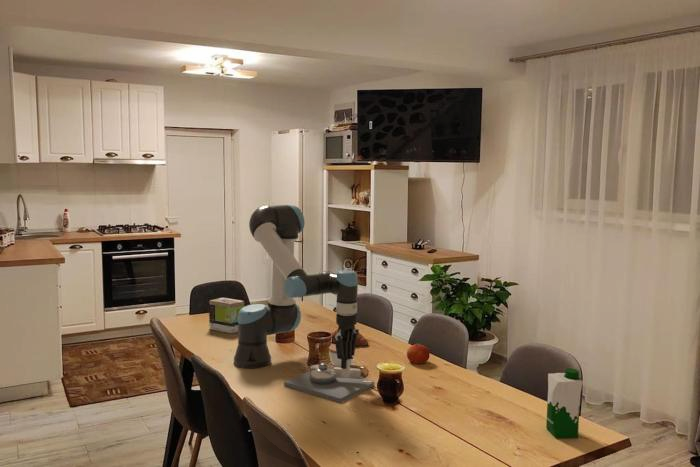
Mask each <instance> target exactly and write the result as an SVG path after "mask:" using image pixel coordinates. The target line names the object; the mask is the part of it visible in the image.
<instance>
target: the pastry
mask: <svg viewBox="0 0 700 467" xmlns="http://www.w3.org/2000/svg"><path fill="white" fill-rule="evenodd" d="M330 333H331V335H332V342H331V343H333V344H335V340H334V338H333V336H334V335H337V333H338V328H337V329H336V330H334V331H331V332H330ZM369 344H370V343H369V341H368V339H367V338H365V337H364V336H363V334H361V332H358V335H357V340H356V347H365V346H369Z"/></svg>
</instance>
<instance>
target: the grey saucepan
mask: <svg viewBox="0 0 700 467" xmlns="http://www.w3.org/2000/svg"><path fill="white" fill-rule="evenodd" d="M367 369H368V368H367V366H366V365H360V366H359V368H355V367H353V368H352V367H350V377H348V378H352V379H364V377H367V373H368V370H367ZM308 372H309V378H310V381H311V382H313V383H317V384H329V383H333V382H335V381H336V380H337V378H347V377H343V376H341V372H342V368H340V367H335V366H334V365H333V364H332V365H331V364H329V363H327V362H320V363H319V364H313V365H310V366H309V368H308Z"/></svg>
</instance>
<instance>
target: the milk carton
mask: <svg viewBox="0 0 700 467" xmlns="http://www.w3.org/2000/svg"><path fill="white" fill-rule="evenodd" d="M547 383H548V384H547V385H548V386H547V388H548V389H547V405H546V423H545V424H546V427H545V428H547V429H546V430H547V431H548V432H549V433H550V434H551V436H553V437H554V438H555V439H578V438H579V428H580V427H579V425H580V424H579V422H580V421H579V420H580V409H581V408H580V406H581V392H582V387H583V385H584V381H583V380H582V379H581V378H580V371H579V370H578V369H576V368H565V370H564V372H555V373H554V372H553V373H548V374H547Z"/></svg>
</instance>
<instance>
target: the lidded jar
mask: <svg viewBox="0 0 700 467" xmlns="http://www.w3.org/2000/svg"><path fill="white" fill-rule="evenodd" d="M355 354H356V352H355V353H354V356H352V357H353V359H350V365H351V364H352V363H353V362H354V359H355ZM328 355H329V356H328V357H329V359H330V363H331V364H332V366H334V367H341V359H338V358H337V352H336V345H335V343H333V344H331V345H329V347H328Z"/></svg>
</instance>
